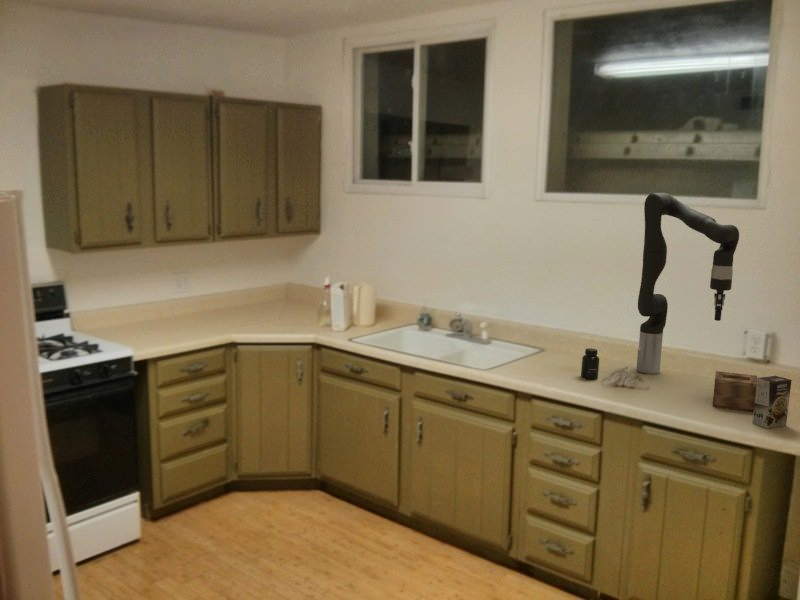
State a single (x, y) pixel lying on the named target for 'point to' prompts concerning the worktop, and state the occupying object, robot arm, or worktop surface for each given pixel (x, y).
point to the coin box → (735, 391)
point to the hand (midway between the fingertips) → (717, 318)
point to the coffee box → (772, 401)
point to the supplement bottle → (590, 364)
